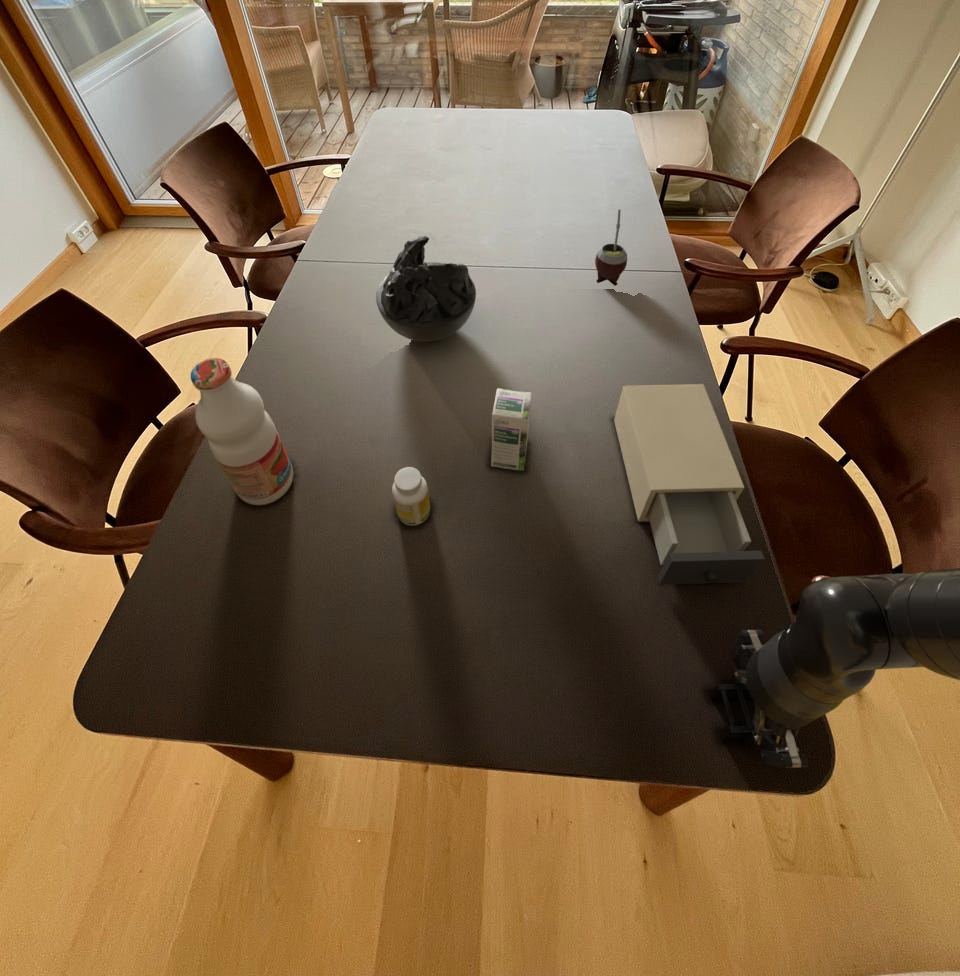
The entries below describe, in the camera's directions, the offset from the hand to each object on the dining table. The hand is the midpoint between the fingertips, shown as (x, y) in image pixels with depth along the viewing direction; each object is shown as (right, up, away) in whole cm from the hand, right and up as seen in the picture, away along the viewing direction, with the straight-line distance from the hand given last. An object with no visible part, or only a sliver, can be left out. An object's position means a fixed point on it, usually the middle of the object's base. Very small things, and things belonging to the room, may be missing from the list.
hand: (743, 713), depth 71 cm
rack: (0, 0, 0) cm, 0 cm away
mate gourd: (-3, +61, +62) cm, 87 cm away
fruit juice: (-69, +23, +24) cm, 76 cm away
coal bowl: (-44, +49, +50) cm, 82 cm away
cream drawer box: (-2, +25, +26) cm, 36 cm away
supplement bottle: (-44, +19, +20) cm, 52 cm away
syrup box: (-28, +27, +27) cm, 47 cm away
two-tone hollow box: (-1, +18, +17) cm, 25 cm away
